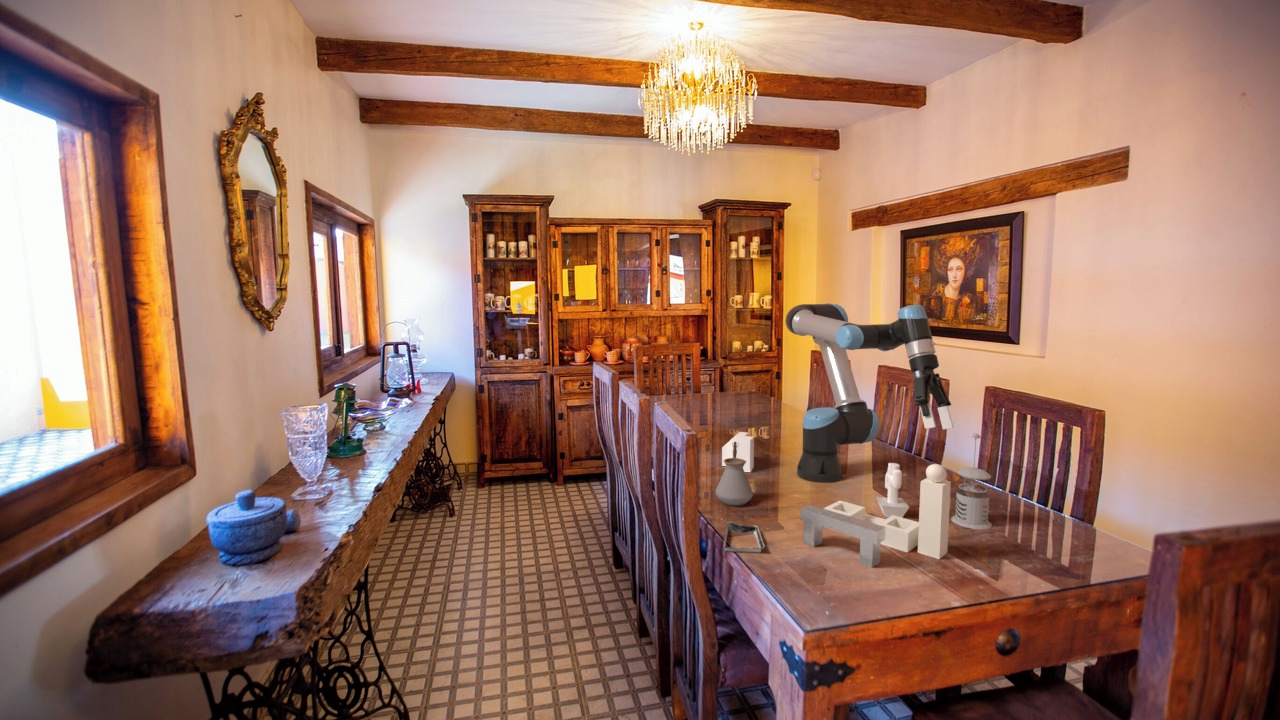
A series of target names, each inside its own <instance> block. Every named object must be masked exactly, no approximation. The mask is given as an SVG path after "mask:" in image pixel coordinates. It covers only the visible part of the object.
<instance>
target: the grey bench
mask: <svg viewBox="0 0 1280 720" xmlns="http://www.w3.org/2000/svg"><path fill="white" fill-rule="evenodd" d="M799 514H800V516H799V517H800V521H802V522H803V534H802V537H803V543H802V544H804V545H806V546H809V547H811V548H815V547H817V546H819V545H821V544H822V543H823V533H824V532H823V528H825V529H827V530H830V531H834V532H837V533H841V534H843V535H847V536H850V537H852V538H856V539H859V540H860V541H859V543H860V544H859V565H862V566H865V567H868V568H870V569H872V568H874V567H875V566H876V565H878V564H879V563H881V545H882V544H881V542H882V541H883V540H885V527H884V526H880V525H877V524H874V523H870V522H867V521H863V520H860V519H857V518H853V517H850V516H846V515H843V514H840V513H836V512H833V511H829V510H826V509H824V508H821V507H819V506H815V505H812V504H807V505H804V506H803V507H801V508H800V513H799Z"/></svg>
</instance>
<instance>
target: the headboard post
mask: <svg viewBox="0 0 1280 720" xmlns="http://www.w3.org/2000/svg"><path fill="white" fill-rule="evenodd" d="M925 475H926V478H924V479H922V480H921V481H920V486H919V487H920V488H919V489H920V490H919V511H918V514H919V515H918V521H915V520H912V519H909V518H904V517H898V516H894V515H892V516H890V517H886V519H885V518H881V517H878V516H875V515H871V514H867V513H866V509H867V508H866V507H865V506H861V505H858V504H855V503H850V502H846V501H842V500H838V501H836V502H834V503H832V504H830V505H828V506H826V507H824V508H823V509H826V510H829V511H833V512H836V513H840V514H843V515H846V516H850V517H853V518H857V519H860V520H863V521H867V522H870V523H874V524H877V525H880V526H884V527H885V540H883V541H882V542H881V545H882V546H885V547H888V548H891V549H895V550H898V551H901V552H904V553H909V552H910V551H912V550H913V549H914V548H916V547H917V553H918V554H921V555H924V556H927V557H930V558H932V559H937V560H941V559H942V558H943V557H944V556H946V555H947V553H948V545H949V524H950V507H951V506H950V504H951V503H950V502H951V485H952V484H951V483H952V481H950V480H946V478H947V470H946V468H945V467H944V466H943V465H940V464H937V463H934V464H933V463H932V464H930V465H928V466H927V468H926V469H925Z"/></svg>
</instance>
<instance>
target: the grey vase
mask: <svg viewBox="0 0 1280 720" xmlns="http://www.w3.org/2000/svg"><path fill="white" fill-rule="evenodd" d="M732 444H733V443H732ZM732 446H733V445H732ZM738 446H739V444H738ZM738 446H736V442H734V446H733V447H734V449H733V458H728V459H725V460H724V463H725V464H726V467H724V471H723V474H722V475H721V478H720V480H719V482H718V485H717V487H716V489H715V492H714V493H715V495H716V497H717V498H718V500H720V501H721V503H723V504H725V505H727V506H732V507H733V506H734V507H736V506H737V507H738V506H740V507H741V506H744V505H746V504H747V503H748V502H749V501H751V499H752V498H753V496H754V491H753V489H752V487H751V484H750V481H749V479H748V477H747V475H746V474H747V473H745V472H744V469H743V466H744V465H745V463H746V461H745V460H743V459H739V458H736V455H737V449H736V448H737V447H738Z"/></svg>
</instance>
